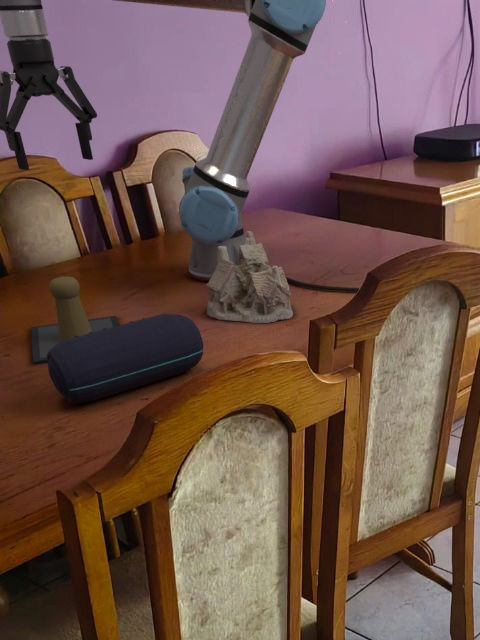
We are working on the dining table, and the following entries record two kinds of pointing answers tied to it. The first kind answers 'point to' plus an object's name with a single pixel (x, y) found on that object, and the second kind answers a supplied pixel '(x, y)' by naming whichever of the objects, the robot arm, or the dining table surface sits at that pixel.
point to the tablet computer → (49, 337)
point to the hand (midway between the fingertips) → (56, 164)
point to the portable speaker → (124, 357)
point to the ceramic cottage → (248, 287)
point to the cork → (69, 308)
